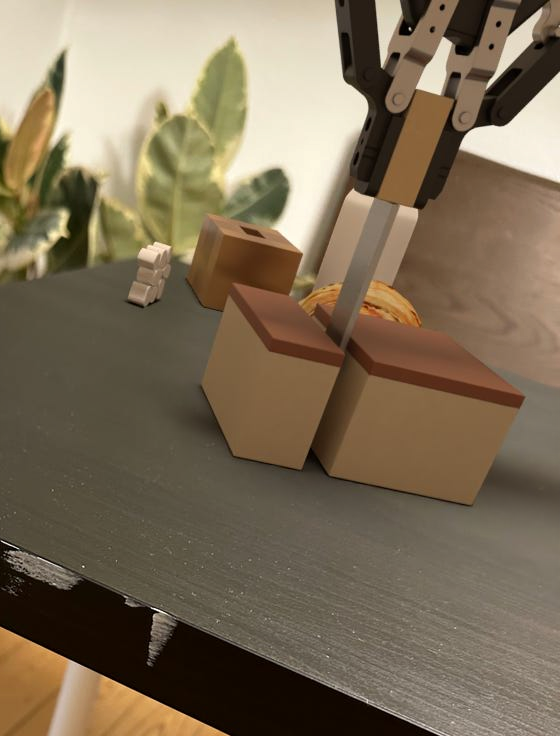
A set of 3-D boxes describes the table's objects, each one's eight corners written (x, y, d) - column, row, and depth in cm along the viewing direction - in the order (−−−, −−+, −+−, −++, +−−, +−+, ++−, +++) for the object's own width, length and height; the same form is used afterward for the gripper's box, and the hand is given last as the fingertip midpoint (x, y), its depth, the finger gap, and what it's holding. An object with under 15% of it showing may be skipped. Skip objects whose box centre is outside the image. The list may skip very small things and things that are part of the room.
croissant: (355, 462, 67) (450, 382, 63) (255, 359, 66) (346, 270, 62) (366, 384, 85) (442, 318, 81) (288, 301, 84) (360, 229, 79)
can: (358, 344, 84) (414, 199, 78) (292, 319, 87) (341, 176, 80) (379, 336, 89) (434, 199, 83) (316, 313, 92) (365, 178, 85)
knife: (334, 362, 56) (435, 95, 49) (348, 379, 54) (457, 99, 46) (302, 355, 56) (399, 85, 49) (315, 371, 53) (419, 89, 46)
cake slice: (258, 397, 63) (292, 296, 60) (301, 470, 53) (346, 354, 50) (200, 384, 63) (232, 282, 59) (233, 456, 53) (273, 337, 49)
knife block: (256, 296, 92) (277, 230, 89) (279, 324, 84) (303, 253, 80) (186, 279, 91) (205, 212, 88) (202, 306, 83) (224, 233, 79)
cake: (403, 429, 65) (445, 333, 62) (471, 506, 55) (526, 396, 52) (281, 402, 64) (316, 302, 60) (328, 476, 54) (374, 361, 50)
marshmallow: (142, 308, 77) (157, 250, 75) (126, 302, 77) (140, 245, 75) (162, 300, 81) (177, 245, 79) (147, 294, 81) (161, 240, 79)
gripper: (431, -308, 37) (279, 178, 46) (742, -197, 39) (538, 245, 48) (372, -262, 43) (248, 158, 52) (643, -169, 45) (479, 218, 54)
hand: (388, 198), depth 50 cm, fingers closed on knife, 2 cm apart
